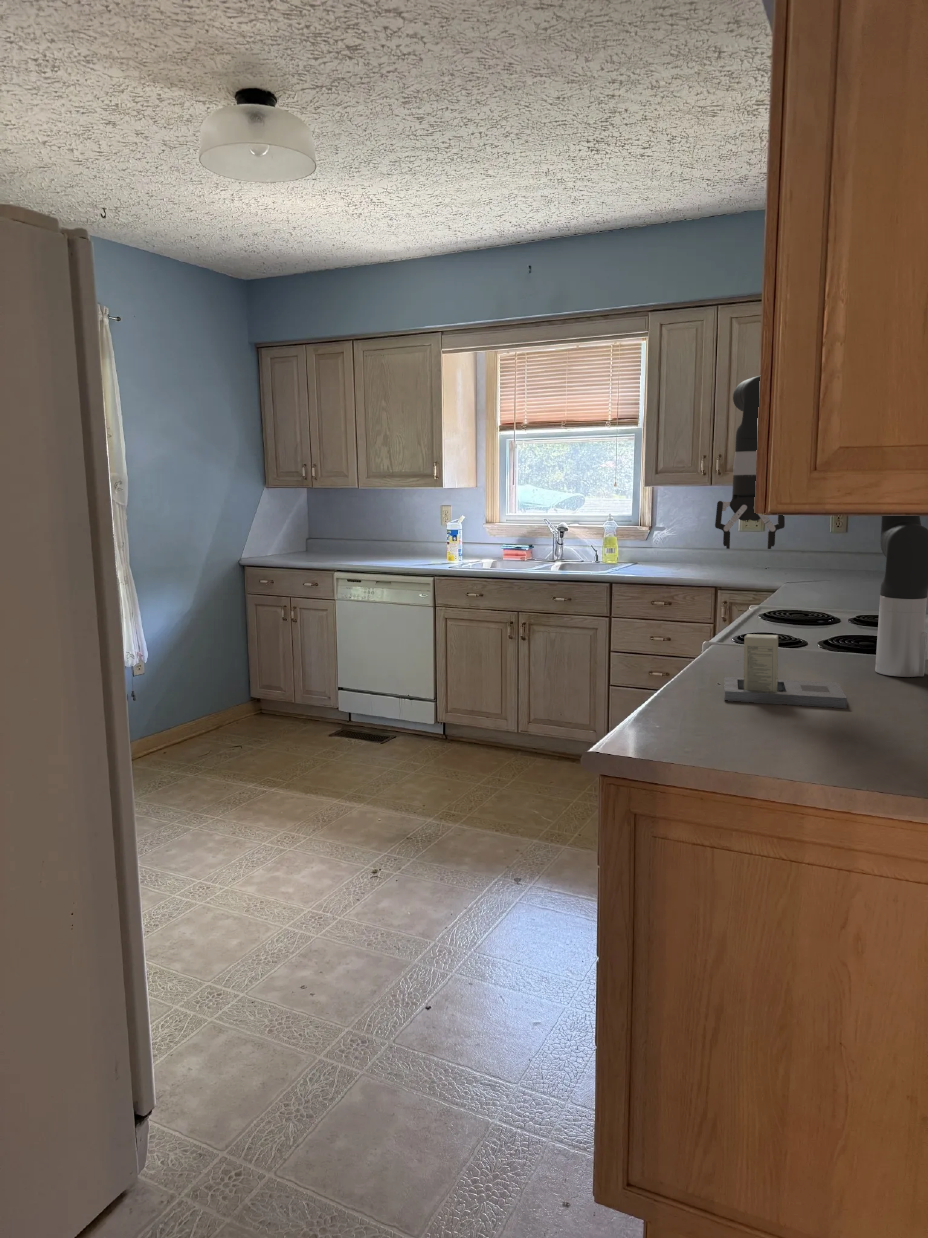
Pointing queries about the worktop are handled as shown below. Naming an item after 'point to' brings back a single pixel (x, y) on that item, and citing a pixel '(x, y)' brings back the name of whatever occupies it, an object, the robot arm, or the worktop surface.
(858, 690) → the worktop surface
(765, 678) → the skincare box
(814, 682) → the grey recessed board
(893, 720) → the worktop surface
